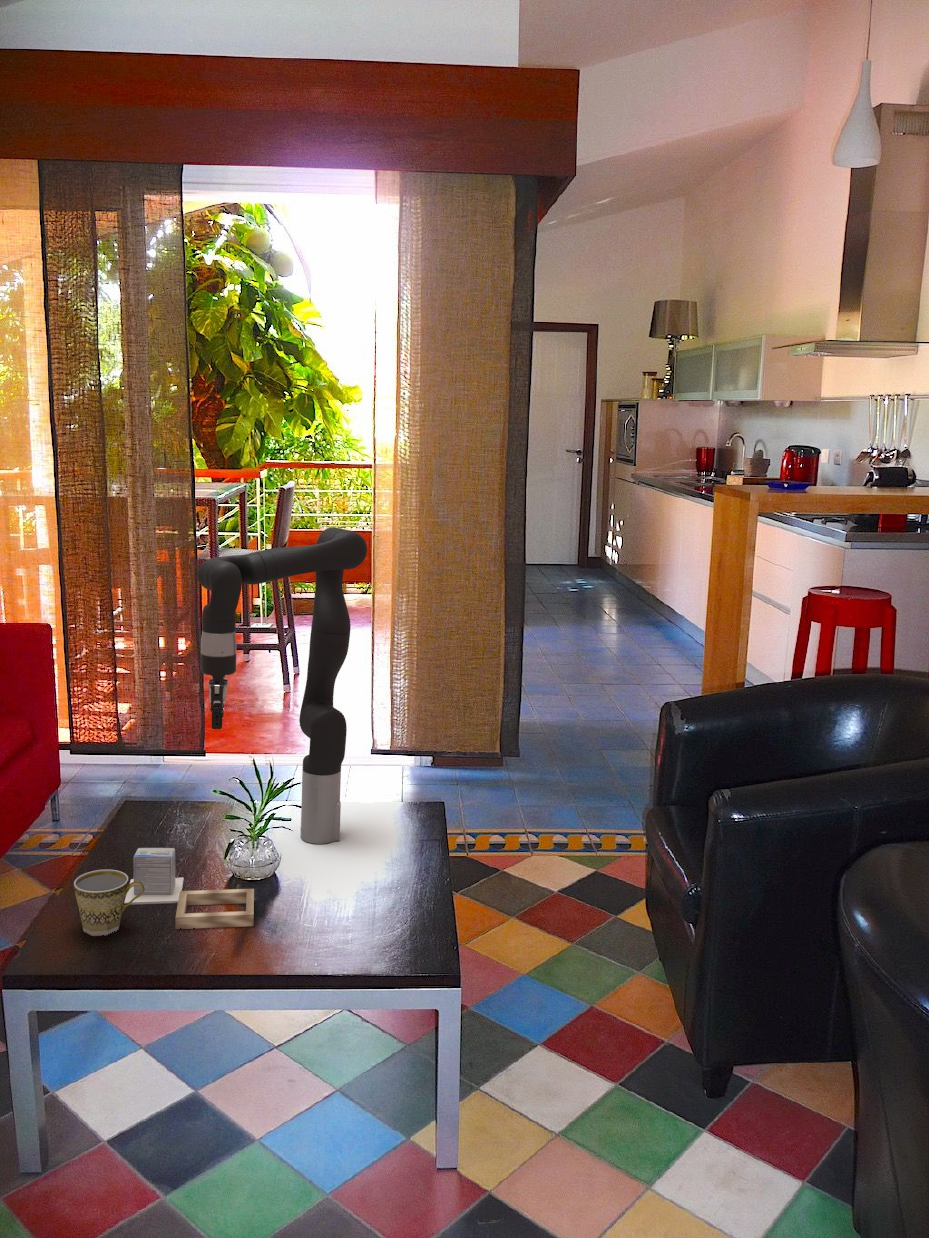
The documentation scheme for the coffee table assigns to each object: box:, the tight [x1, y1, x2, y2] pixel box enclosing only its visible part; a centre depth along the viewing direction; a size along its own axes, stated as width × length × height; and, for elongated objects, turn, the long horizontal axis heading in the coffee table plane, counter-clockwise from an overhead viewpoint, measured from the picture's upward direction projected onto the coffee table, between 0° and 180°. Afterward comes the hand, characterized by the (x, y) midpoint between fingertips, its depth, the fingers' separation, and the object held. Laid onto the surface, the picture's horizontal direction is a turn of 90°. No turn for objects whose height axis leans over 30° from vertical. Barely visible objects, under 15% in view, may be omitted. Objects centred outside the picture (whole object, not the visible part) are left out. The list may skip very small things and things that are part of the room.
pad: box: [124, 876, 185, 906], centre depth 214 cm, size 11×11×1 cm
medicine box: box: [133, 847, 176, 894], centre depth 213 cm, size 8×4×9 cm, turn 96°
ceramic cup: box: [73, 869, 145, 937], centre depth 197 cm, size 13×10×10 cm
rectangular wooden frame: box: [174, 888, 255, 930], centre depth 206 cm, size 15×12×2 cm
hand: (217, 723), depth 223 cm, fingers open, 8 cm apart
